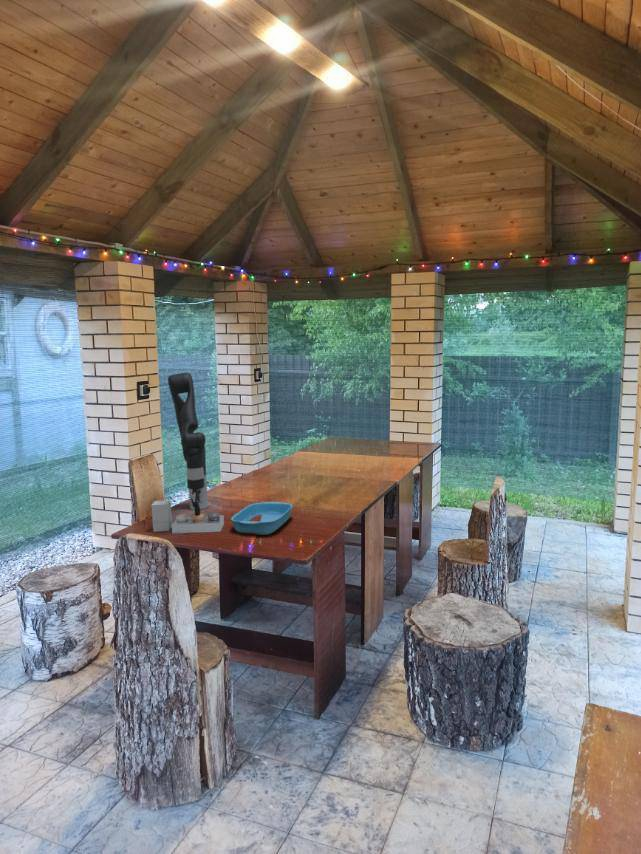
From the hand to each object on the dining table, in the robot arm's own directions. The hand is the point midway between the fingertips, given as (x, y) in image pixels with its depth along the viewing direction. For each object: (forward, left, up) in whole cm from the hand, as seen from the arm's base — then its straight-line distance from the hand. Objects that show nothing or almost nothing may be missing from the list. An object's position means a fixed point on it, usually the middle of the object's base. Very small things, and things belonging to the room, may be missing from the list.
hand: (197, 515), depth 263 cm
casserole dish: (-4, +29, -8) cm, 30 cm away
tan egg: (0, 0, -6) cm, 6 cm away
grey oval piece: (0, -7, -6) cm, 9 cm away
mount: (0, 0, -7) cm, 7 cm away
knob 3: (0, +7, -6) cm, 9 cm away
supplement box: (-4, -17, -7) cm, 19 cm away
